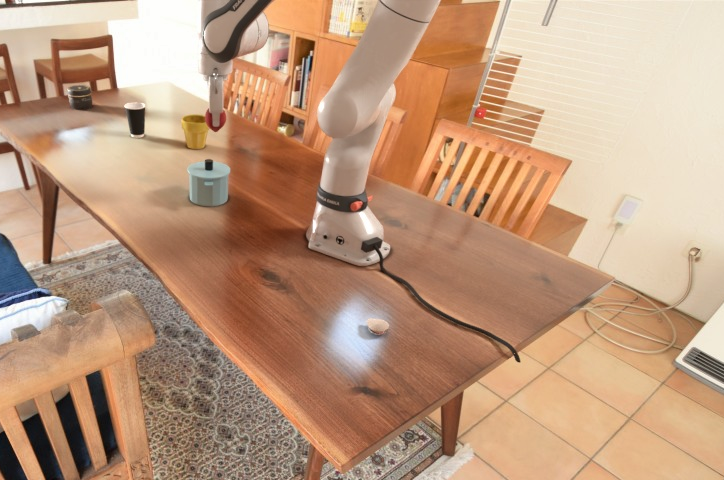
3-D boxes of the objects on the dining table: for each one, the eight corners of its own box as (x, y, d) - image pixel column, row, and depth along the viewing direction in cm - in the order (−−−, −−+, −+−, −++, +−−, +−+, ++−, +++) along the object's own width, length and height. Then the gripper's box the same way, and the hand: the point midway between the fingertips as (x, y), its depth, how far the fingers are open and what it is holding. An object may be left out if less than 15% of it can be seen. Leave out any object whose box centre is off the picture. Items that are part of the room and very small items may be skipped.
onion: (223, 136, 133) (223, 104, 128) (203, 134, 134) (202, 103, 129) (227, 129, 137) (228, 98, 132) (207, 128, 138) (207, 97, 133)
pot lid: (229, 164, 148) (229, 152, 146) (230, 181, 139) (231, 169, 136) (188, 164, 148) (187, 152, 146) (186, 181, 138) (186, 168, 136)
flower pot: (214, 149, 180) (214, 121, 173) (187, 152, 177) (186, 124, 170) (204, 140, 187) (204, 113, 180) (178, 142, 184) (177, 115, 177)
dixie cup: (151, 136, 188) (149, 106, 181) (133, 140, 185) (130, 109, 177) (141, 130, 193) (139, 101, 186) (123, 134, 189) (120, 104, 182)
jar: (86, 102, 220) (83, 83, 215) (97, 107, 215) (94, 88, 210) (66, 105, 216) (62, 86, 210) (76, 111, 210) (73, 92, 205)
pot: (227, 186, 155) (227, 160, 150) (228, 210, 142) (229, 183, 137) (190, 186, 155) (189, 159, 149) (188, 210, 142) (188, 182, 136)
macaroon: (377, 340, 100) (380, 330, 98) (358, 327, 103) (361, 317, 101) (390, 332, 102) (394, 323, 100) (372, 320, 105) (375, 310, 103)
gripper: (229, 74, 117) (228, 133, 126) (226, 56, 133) (226, 111, 141) (203, 74, 117) (204, 133, 126) (203, 56, 132) (204, 111, 141)
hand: (215, 121), depth 134 cm, fingers closed on onion, 6 cm apart
